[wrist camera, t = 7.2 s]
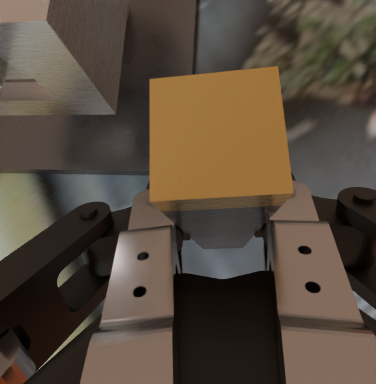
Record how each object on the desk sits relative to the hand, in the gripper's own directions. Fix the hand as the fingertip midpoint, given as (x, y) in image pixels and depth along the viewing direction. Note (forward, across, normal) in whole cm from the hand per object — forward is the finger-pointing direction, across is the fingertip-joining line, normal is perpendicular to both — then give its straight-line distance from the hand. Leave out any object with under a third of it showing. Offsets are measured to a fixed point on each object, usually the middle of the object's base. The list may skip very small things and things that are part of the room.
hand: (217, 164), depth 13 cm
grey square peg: (+3, 0, +6) cm, 7 cm away
